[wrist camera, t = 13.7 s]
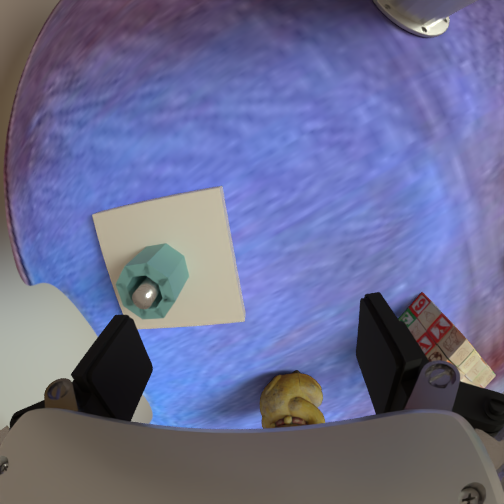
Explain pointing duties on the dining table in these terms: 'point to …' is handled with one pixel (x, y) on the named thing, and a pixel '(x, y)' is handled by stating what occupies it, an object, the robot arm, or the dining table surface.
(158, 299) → the bead
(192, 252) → the board
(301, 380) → the decorative figurine
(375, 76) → the dining table surface
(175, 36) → the dining table surface
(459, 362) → the stack of blocks
